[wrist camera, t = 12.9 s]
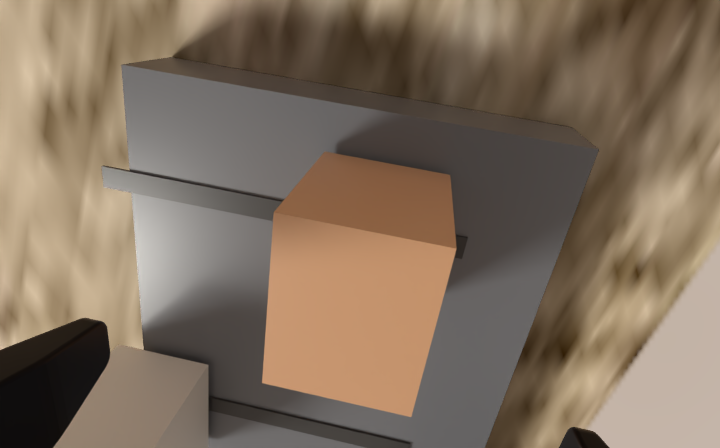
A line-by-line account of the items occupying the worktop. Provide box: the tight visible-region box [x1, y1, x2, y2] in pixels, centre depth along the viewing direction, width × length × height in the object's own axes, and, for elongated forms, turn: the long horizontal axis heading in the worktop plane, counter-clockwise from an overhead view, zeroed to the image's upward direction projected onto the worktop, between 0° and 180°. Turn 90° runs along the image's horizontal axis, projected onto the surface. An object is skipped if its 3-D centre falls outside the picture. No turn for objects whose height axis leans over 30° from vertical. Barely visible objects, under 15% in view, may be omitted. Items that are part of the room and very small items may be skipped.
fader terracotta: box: [262, 152, 457, 417], centre depth 13 cm, size 4×5×5 cm
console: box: [102, 57, 599, 448], centre depth 19 cm, size 16×18×3 cm
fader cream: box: [53, 344, 208, 448], centre depth 18 cm, size 4×5×5 cm
